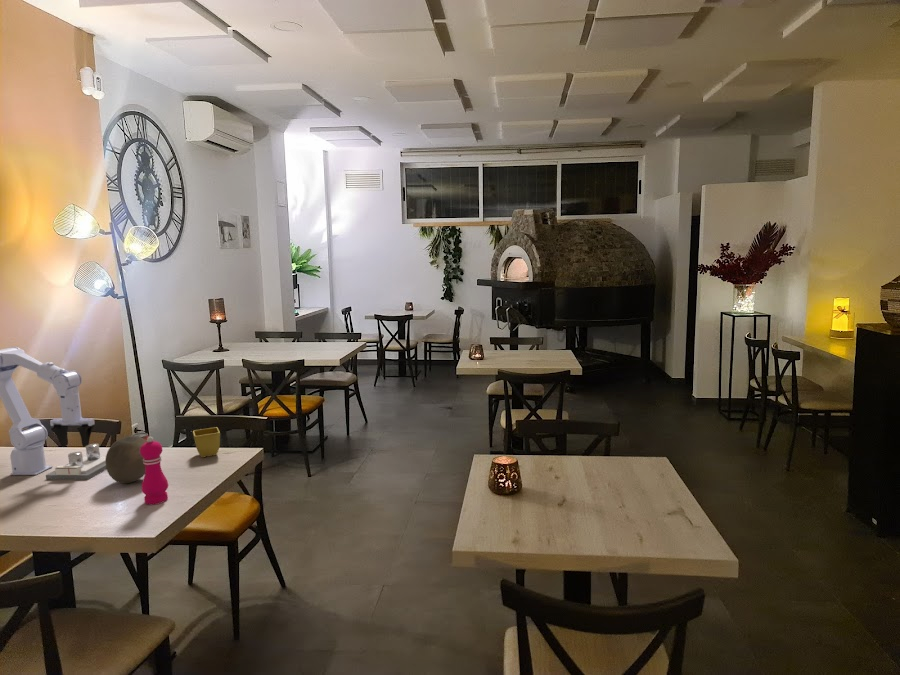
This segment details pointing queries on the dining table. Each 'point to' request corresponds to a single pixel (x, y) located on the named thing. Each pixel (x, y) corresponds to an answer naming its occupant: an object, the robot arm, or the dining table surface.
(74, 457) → the cylinder
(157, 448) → the pepper mill
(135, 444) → the cantaloupe
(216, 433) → the flower pot
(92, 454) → the cylinder
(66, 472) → the scale
